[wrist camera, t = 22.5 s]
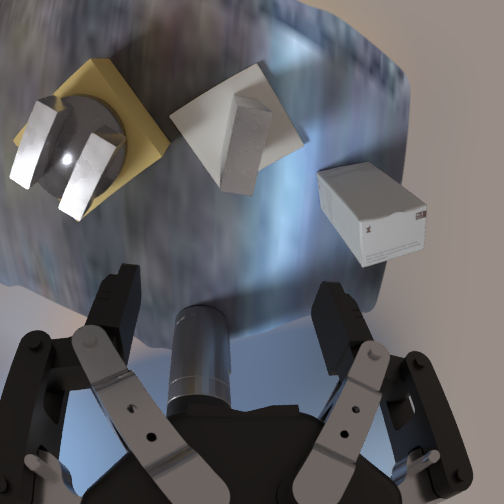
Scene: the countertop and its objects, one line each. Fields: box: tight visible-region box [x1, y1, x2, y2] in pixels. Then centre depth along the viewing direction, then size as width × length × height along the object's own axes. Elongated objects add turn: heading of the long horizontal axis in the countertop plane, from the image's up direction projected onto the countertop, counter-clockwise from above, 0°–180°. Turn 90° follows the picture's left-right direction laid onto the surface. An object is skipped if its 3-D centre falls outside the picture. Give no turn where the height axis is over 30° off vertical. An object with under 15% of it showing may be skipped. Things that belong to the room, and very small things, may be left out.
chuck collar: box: [10, 94, 128, 221], centre depth 27 cm, size 12×12×6 cm
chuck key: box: [220, 94, 273, 196], centre depth 31 cm, size 3×8×11 cm, turn 167°
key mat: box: [169, 63, 304, 192], centre depth 36 cm, size 12×12×1 cm
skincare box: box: [317, 162, 427, 267], centre depth 35 cm, size 8×6×15 cm
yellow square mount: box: [13, 58, 170, 222], centre depth 32 cm, size 14×14×6 cm
